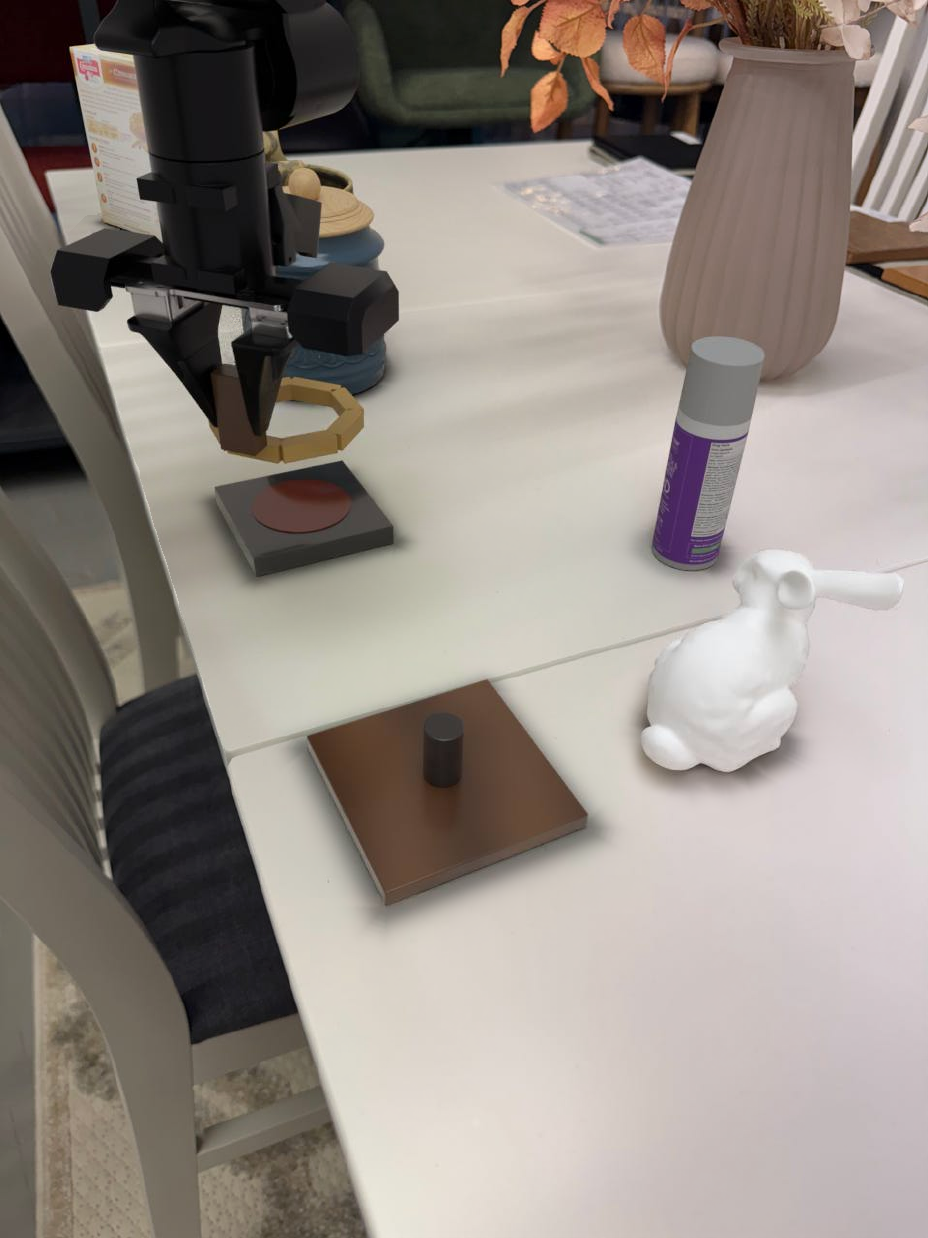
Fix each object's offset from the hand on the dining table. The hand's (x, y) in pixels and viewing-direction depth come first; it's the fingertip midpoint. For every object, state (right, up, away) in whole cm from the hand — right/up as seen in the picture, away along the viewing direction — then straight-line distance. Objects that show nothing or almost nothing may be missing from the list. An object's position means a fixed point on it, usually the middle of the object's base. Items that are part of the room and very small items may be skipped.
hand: (241, 429), depth 58 cm
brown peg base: (+12, -20, -8) cm, 25 cm away
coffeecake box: (-25, +37, +62) cm, 76 cm away
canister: (0, +11, +31) cm, 33 cm away
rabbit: (+29, -18, -3) cm, 34 cm away
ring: (+2, +1, +6) cm, 6 cm away
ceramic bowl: (-7, +26, +48) cm, 55 cm away
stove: (+2, -5, +11) cm, 12 cm away
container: (+29, -7, +10) cm, 32 cm away
